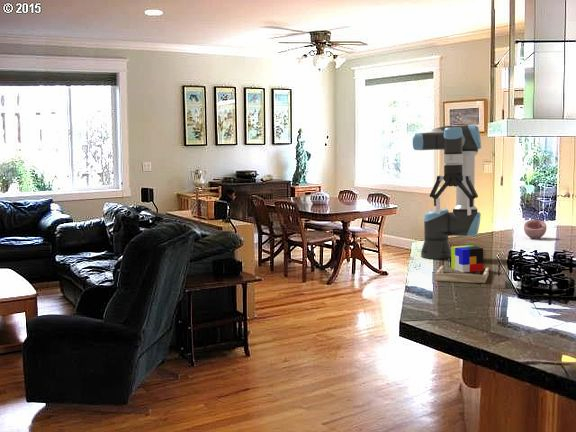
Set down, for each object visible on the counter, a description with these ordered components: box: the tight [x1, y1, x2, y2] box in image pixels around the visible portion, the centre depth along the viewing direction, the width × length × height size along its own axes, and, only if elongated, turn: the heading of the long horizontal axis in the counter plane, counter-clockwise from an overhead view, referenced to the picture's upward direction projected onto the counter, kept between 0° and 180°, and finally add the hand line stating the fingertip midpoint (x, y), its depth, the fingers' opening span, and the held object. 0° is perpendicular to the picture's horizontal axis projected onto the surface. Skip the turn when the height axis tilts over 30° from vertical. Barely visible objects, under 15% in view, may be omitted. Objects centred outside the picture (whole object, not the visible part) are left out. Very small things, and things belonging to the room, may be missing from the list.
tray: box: [434, 265, 490, 284], centre depth 277 cm, size 18×20×3 cm
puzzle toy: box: [450, 244, 484, 273], centre depth 294 cm, size 10×10×10 cm
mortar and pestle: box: [523, 218, 547, 240], centre depth 375 cm, size 12×12×12 cm
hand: (453, 214), depth 280 cm, fingers open, 13 cm apart
